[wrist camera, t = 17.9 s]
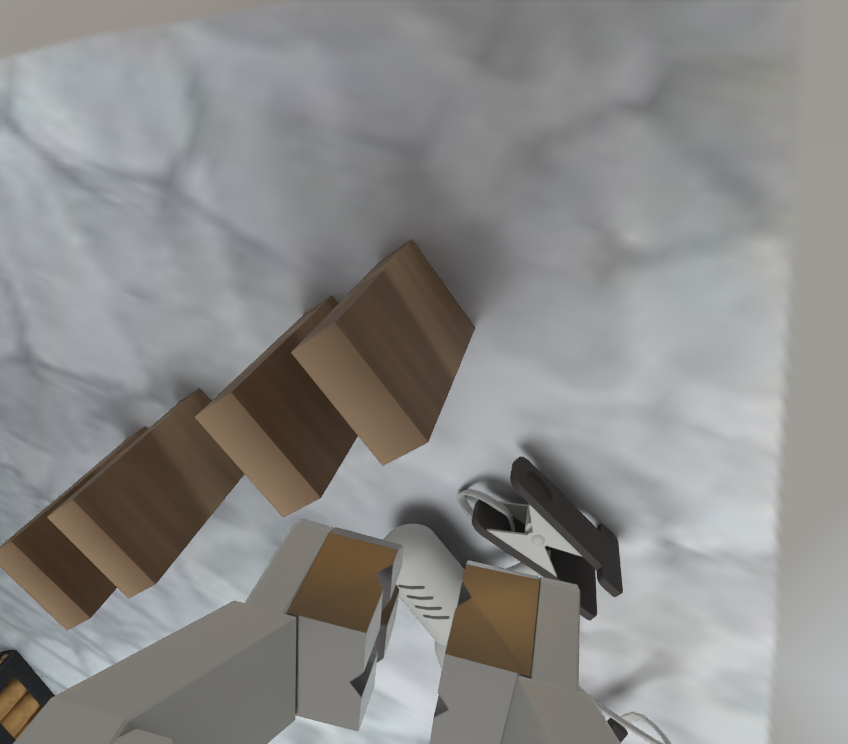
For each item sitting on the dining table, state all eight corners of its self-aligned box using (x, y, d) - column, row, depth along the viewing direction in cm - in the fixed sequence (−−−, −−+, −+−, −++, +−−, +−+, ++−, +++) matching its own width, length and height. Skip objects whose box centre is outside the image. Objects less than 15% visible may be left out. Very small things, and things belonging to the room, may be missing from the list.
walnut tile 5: (181, 501, 40) (66, 630, 31) (125, 440, 38) (-12, 556, 30) (202, 489, 39) (90, 618, 30) (145, 426, 38) (11, 541, 29)
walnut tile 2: (363, 394, 33) (282, 517, 25) (302, 316, 32) (194, 417, 23) (393, 376, 32) (320, 497, 24) (331, 295, 31) (230, 392, 22)
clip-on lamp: (719, 672, 36) (541, 428, 32) (746, 782, 31) (533, 501, 27) (540, 728, 41) (366, 521, 37) (535, 833, 35) (329, 600, 32)
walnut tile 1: (441, 347, 31) (382, 465, 22) (378, 262, 30) (291, 352, 21) (475, 327, 30) (428, 442, 22) (412, 239, 29) (334, 322, 20)
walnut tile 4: (235, 470, 38) (128, 598, 29) (177, 404, 36) (46, 517, 28) (258, 456, 37) (155, 584, 28) (199, 388, 35) (72, 499, 27)
